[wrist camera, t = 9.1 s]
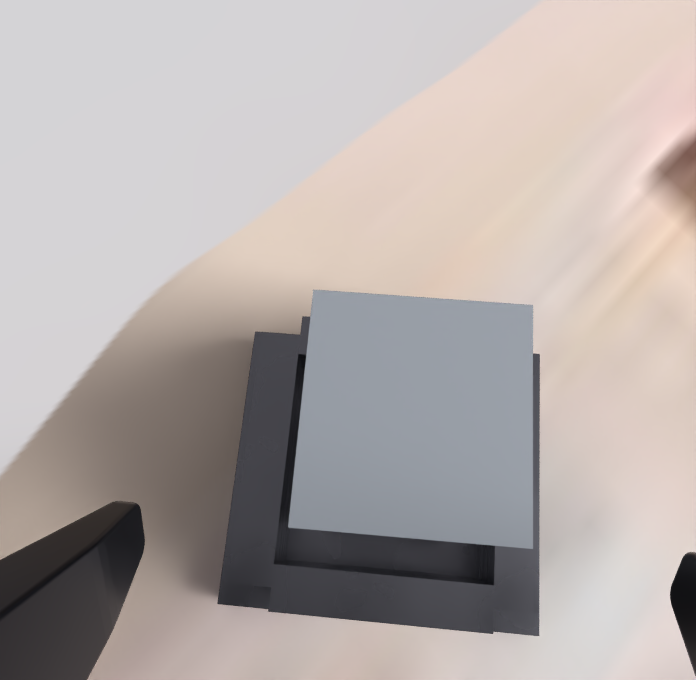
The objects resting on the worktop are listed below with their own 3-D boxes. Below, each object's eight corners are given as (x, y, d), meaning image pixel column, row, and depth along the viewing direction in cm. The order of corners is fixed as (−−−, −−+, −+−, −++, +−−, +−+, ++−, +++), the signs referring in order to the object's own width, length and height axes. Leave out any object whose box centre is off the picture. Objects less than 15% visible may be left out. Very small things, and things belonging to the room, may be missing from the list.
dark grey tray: (528, 630, 21) (577, 658, 16) (225, 600, 21) (187, 619, 16) (530, 363, 23) (572, 321, 19) (260, 341, 24) (236, 295, 19)
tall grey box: (444, 540, 20) (533, 548, 10) (326, 530, 20) (287, 527, 10) (448, 417, 21) (532, 305, 11) (336, 408, 22) (313, 289, 11)
